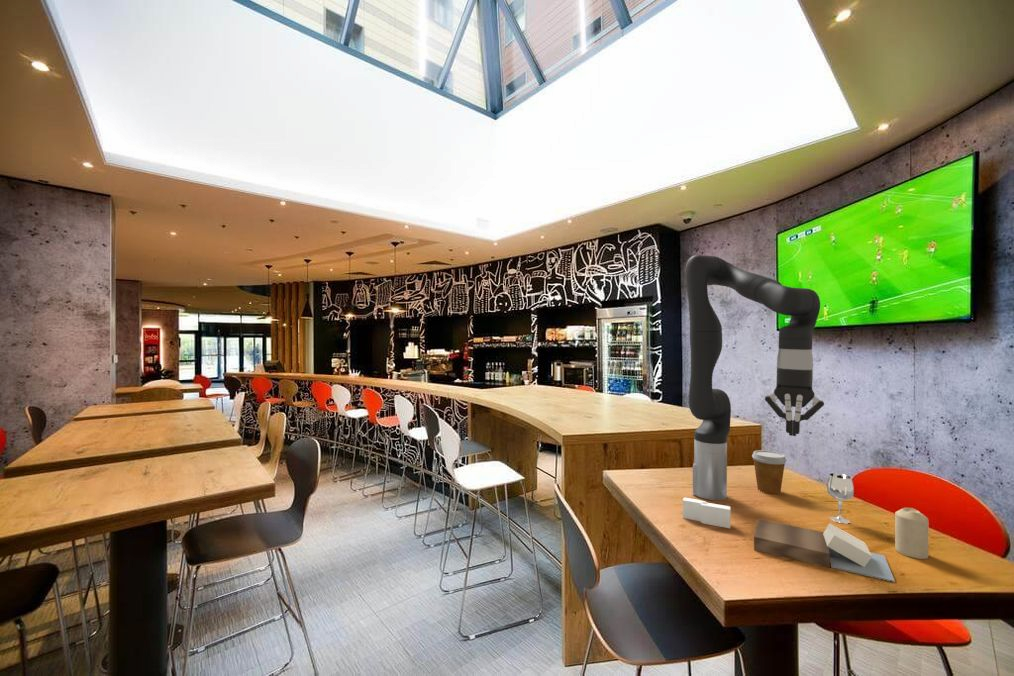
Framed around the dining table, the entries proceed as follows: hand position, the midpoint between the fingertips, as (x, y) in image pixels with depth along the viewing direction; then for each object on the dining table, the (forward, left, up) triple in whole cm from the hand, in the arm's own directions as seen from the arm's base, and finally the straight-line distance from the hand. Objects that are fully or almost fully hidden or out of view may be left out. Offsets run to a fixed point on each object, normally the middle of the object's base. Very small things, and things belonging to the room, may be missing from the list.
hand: (792, 435), depth 107 cm
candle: (+23, +3, -25) cm, 34 cm away
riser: (0, -9, -25) cm, 26 cm away
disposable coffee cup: (-6, +31, -25) cm, 40 cm away
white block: (+9, -9, -23) cm, 26 cm away
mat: (+12, -9, -25) cm, 29 cm away
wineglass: (+11, +16, -25) cm, 31 cm away
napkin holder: (-20, -5, -25) cm, 32 cm away
